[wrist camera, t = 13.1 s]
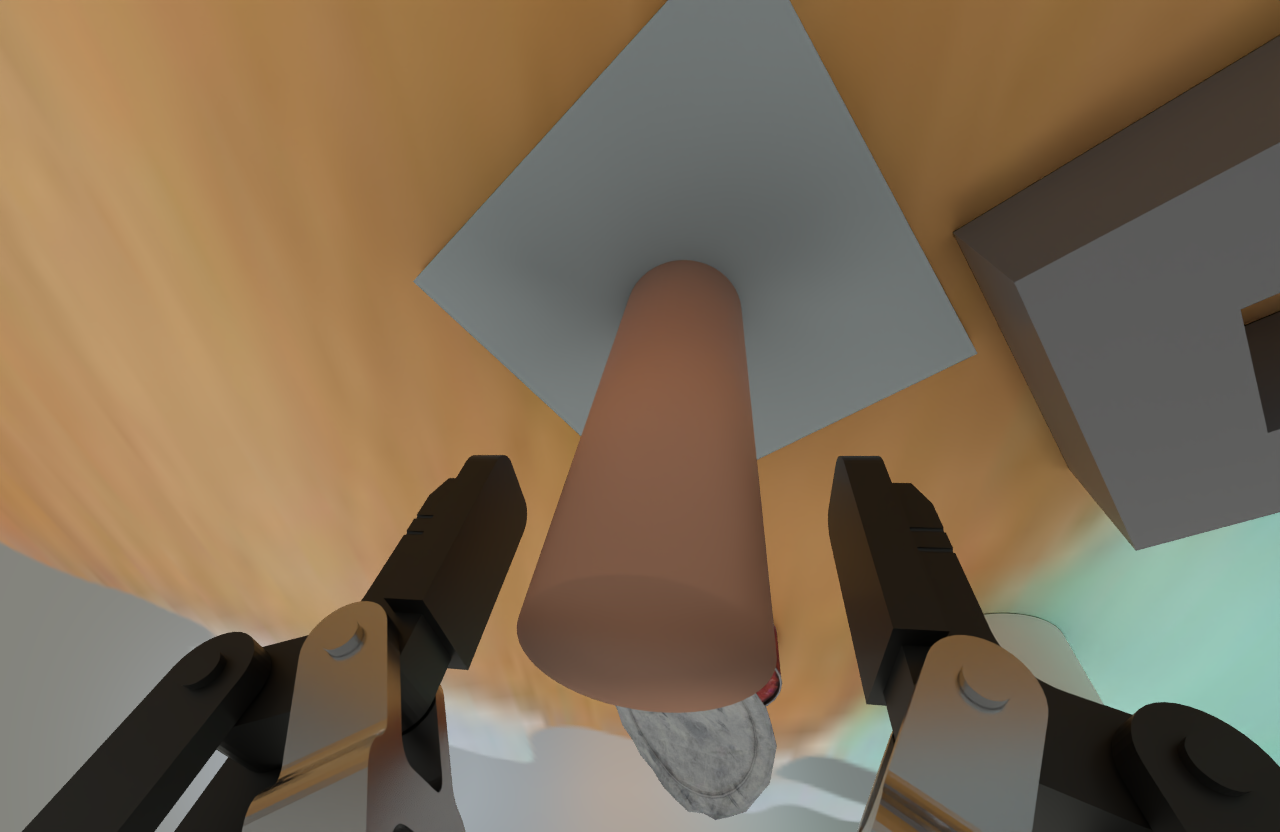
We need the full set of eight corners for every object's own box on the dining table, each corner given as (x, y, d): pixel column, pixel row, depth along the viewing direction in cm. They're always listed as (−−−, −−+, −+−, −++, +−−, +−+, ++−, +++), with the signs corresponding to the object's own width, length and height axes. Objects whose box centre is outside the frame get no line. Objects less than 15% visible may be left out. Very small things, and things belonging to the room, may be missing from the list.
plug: (695, 234, 15) (662, 536, 6) (764, 326, 17) (827, 683, 7) (603, 306, 17) (466, 625, 8) (673, 384, 19) (631, 727, 9)
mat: (743, -77, 12) (744, -85, 11) (968, 342, 17) (977, 353, 17) (423, 273, 18) (413, 281, 18) (659, 494, 24) (658, 507, 23)
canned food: (663, 603, 38) (581, 726, 32) (654, 527, 31) (548, 668, 25) (807, 690, 32) (739, 857, 27) (835, 623, 26) (750, 827, 20)
